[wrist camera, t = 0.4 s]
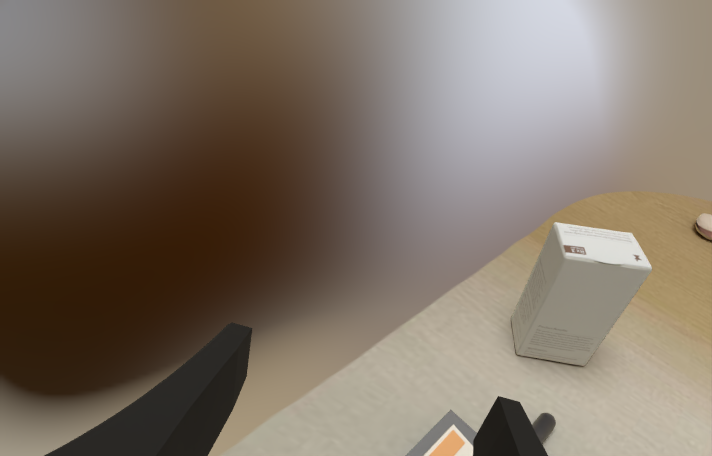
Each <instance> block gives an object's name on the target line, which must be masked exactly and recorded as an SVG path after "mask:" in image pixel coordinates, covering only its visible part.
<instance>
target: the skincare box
mask: <svg viewBox="0 0 712 456" xmlns="http://www.w3.org/2000/svg"><path fill="white" fill-rule="evenodd" d="M651 271H652V267H651V265H650V263H649V261H648V260H647V258H646V256H645V254H644V253H643V251H642V249H641V247H640V246H639V244H638V242H637V241H636V239H635V238H634V236H633V235H632V234H631V233H626V232H619V231H612V230H605V229H598V228H591V227H584V226H577V225H570V224H563V223H557V222H555V223H554V224H553V226H552V228H551V230H550V232H549V235H548V237H547V239H546V241H545V244H544V246H543V248H542V250H541V253H540V255H539V257H538V259H537V262H536V264H535V266H534V268H533V271H532V273H531V275H530V277H529V279H528V282H527V284H526V286H525V288H524V290H523V293H522V295H521V297H520V299H519V302H518V304H517V306H516V308H515V311H514V313H513V315H512V317H511V322H512V330H513V337H514V344H515V349H516V354H517V355H521V356H528V357H534V358H540V359H546V360H552V361H557V362H563V363H569V364H575V365H581V366H585V365H586V364H587V362H588V361H589V359H590V358H591V357H592V355H593V354H594V352H595V351H596V350H597V348H598V347H599V345H600V344H601V342H602V341H603V340H604V338H605V337H606V335H607V334H608V332H609V331H610V329H611V328H612V327H613V325H614V324H615V322H616V321H617V319H618V318H619V317H620V315H621V314H622V312H623V311H624V309H625V308H626V307H627V305H628V304H629V302H630V301H631V299H632V298H633V297H634V295H635V294H636V292H637V291H638V289H639V288H640V286H641V285H642V284H643V282H644V281H645V279H646V278H647V276H648V275H649V274H650V272H651Z"/></svg>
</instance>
